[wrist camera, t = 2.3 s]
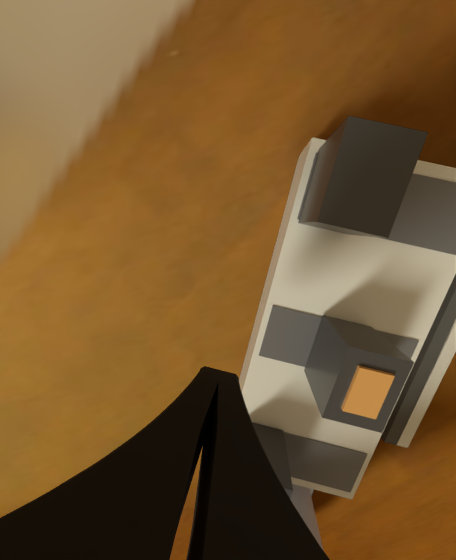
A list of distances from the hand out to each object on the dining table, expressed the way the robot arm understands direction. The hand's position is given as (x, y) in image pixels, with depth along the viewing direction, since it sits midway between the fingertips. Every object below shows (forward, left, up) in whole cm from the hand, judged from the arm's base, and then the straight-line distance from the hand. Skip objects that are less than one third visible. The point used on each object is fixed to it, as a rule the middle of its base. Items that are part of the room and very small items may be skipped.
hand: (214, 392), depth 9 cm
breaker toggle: (0, -7, -7) cm, 10 cm away
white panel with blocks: (0, -7, -10) cm, 13 cm away
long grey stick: (0, -15, -10) cm, 18 cm away
